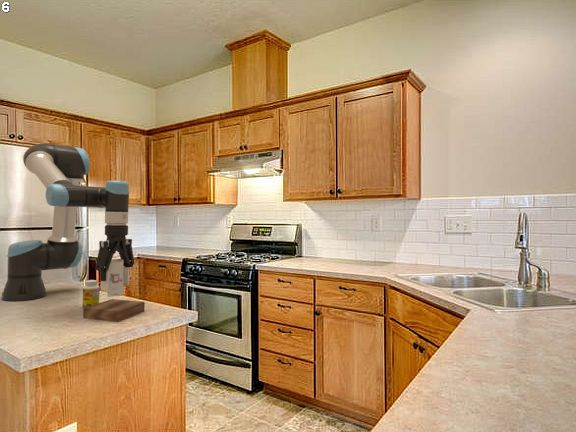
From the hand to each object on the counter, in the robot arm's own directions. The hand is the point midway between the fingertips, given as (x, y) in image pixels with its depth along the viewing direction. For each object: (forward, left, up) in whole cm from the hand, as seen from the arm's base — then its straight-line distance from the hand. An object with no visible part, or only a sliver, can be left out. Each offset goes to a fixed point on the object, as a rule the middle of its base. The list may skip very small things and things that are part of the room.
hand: (115, 287), depth 133 cm
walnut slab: (0, 0, -10) cm, 10 cm away
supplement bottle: (-15, +5, -10) cm, 19 cm away
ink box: (0, 0, -2) cm, 2 cm away
